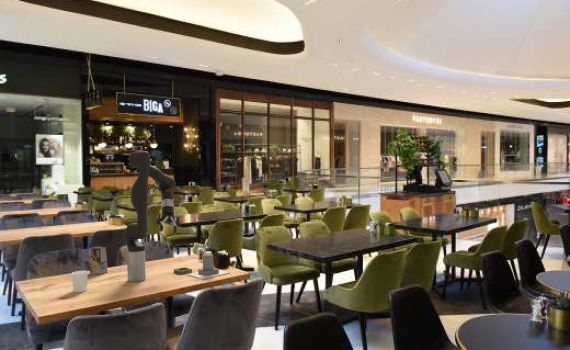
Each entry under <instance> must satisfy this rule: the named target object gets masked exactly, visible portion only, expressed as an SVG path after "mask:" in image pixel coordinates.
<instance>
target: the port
mask: <svg viewBox="0 0 570 350" xmlns="http://www.w3.org/2000/svg"><path fill="white" fill-rule="evenodd" d="M230 273H231V272H230V271H226V270H222V269H220V268H216V267H214V270H209V271H205V270H203V267H201V268H197V271H196V272H191V273H186V276H189V277H193V278H197V279H199V280H205V279H210V278H214V277H218V276H224V275H228V274H230Z"/></svg>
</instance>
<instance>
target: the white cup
mask: <svg viewBox="0 0 570 350" xmlns="http://www.w3.org/2000/svg"><path fill="white" fill-rule="evenodd" d="M71 283H72V292H73V293H81V292H82V293H83V292H86V291H87V290H88V270H76V271H72V272H71Z"/></svg>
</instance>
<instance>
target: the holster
mask: <svg viewBox="0 0 570 350" xmlns="http://www.w3.org/2000/svg"><path fill="white" fill-rule="evenodd" d="M173 273H174V274H177V275H187V274H191V273H193V269H192V268H190V267H186V266H184V267H179V268H174V269H173Z"/></svg>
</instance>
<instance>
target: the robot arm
mask: <svg viewBox="0 0 570 350" xmlns="http://www.w3.org/2000/svg"><path fill="white" fill-rule="evenodd" d="M128 163H129V165H130V166H132V167H133V168H136V169H137V170H138V171H139V172H138V176H137V178H136V180H134V183H133V184H132V187H131V191H130V203H131V205H132V206H133V208H134V210H135V212H136V217H137V222H130V223H128V225H126V228H125V238H126V239H125V240H126V247H127V252H128V257H127V258H128V263H127V265H126V266H127V269H126V270H127V281H129V282H131V283H134V282H136V283H137V282H143V281H145V280H146V279H147V278H146V276H147V275H146V249H145V248H146V247H145V244H143V243H141V242H140V241H139V240H144V239H145V238H146V237H147V233H148V214H147V213H148V209H147V208H148V196H149V195H148V191H149V190H148V186H149V177H150V178H151V179H152V180H154V182H156V183H157V184H158V188H159V191H160V195H161V207H160V208H161V214H157V216H156V225H157V226H159V231H160V232H163V231H164V223H165V224H168V225H169V224H170V225H171V226H172V227H173V229H172V230H173V234H176V232H178V231H177V228H179V226H180V225H181V223H180V218H179V216H175V206H174V205H175V204H174V193H173V192H172V191H168V190H171V189H173V188H174V189H175V187H176V185H177V183H176V181H175V179H174V177H172V176H170V175H167V174H165V173H164V172H163V171H161V170H160V169H159V168H157V167H155V166H153V165H151V155H150V152H148V151H146V150H145V151H144V150H143V151H142V150H141V151H133V152H131V153H130V154H129V156H128ZM161 220H162V221H161Z"/></svg>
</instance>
